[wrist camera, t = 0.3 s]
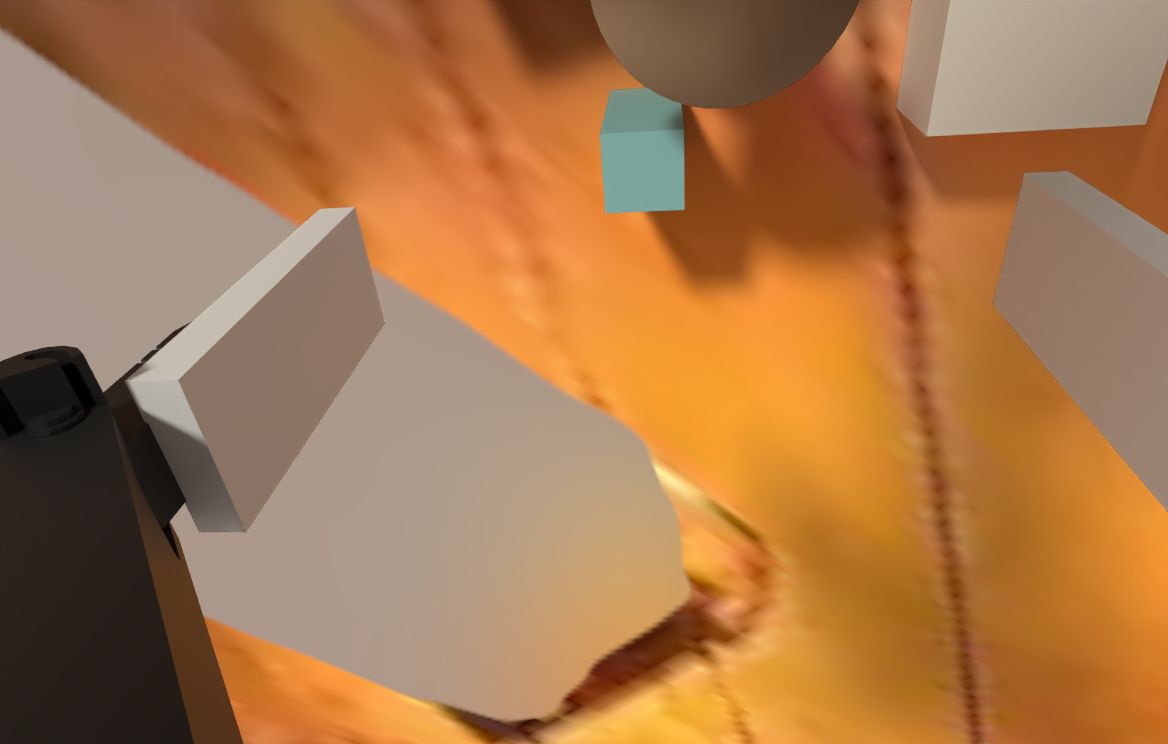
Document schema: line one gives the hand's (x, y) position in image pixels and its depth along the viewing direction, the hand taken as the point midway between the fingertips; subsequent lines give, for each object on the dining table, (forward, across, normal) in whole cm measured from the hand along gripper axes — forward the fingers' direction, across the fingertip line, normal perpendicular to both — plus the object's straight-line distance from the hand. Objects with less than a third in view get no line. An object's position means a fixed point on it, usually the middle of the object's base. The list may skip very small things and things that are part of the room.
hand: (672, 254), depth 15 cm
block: (+25, -1, -3) cm, 25 cm away
